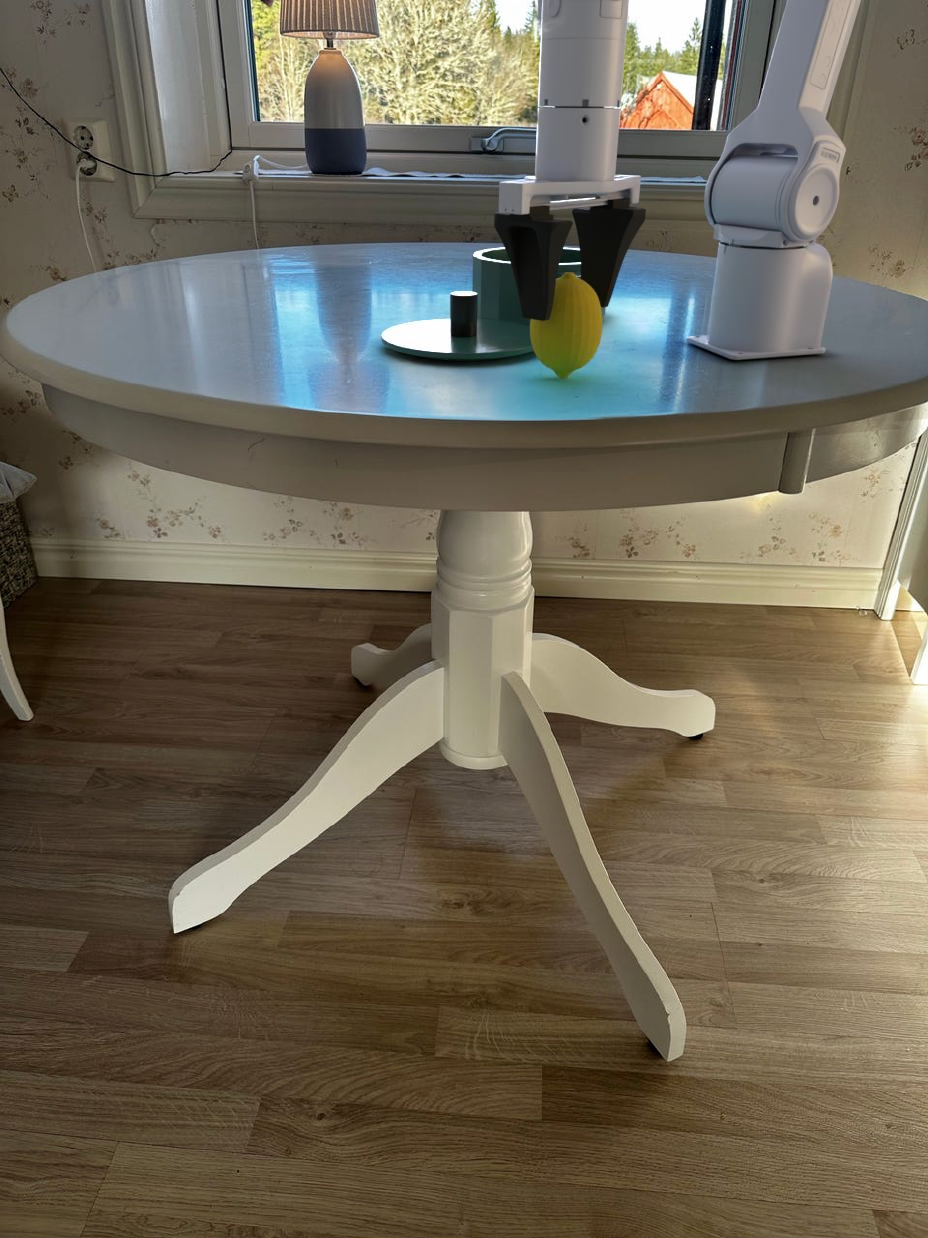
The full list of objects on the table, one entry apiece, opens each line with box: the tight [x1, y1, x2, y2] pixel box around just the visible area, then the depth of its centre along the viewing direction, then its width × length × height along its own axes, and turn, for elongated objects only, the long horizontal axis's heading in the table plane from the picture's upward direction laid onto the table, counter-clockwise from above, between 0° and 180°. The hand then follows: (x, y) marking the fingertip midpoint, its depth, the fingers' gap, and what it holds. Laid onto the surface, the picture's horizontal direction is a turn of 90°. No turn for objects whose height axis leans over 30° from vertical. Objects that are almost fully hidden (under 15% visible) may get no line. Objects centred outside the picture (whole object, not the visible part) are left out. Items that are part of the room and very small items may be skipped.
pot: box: [471, 246, 607, 326], centre depth 94 cm, size 14×19×6 cm
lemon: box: [530, 272, 603, 380], centre depth 71 cm, size 6×6×8 cm
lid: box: [381, 290, 534, 362], centre depth 81 cm, size 15×15×5 cm
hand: (566, 311), depth 70 cm, fingers open, 7 cm apart
